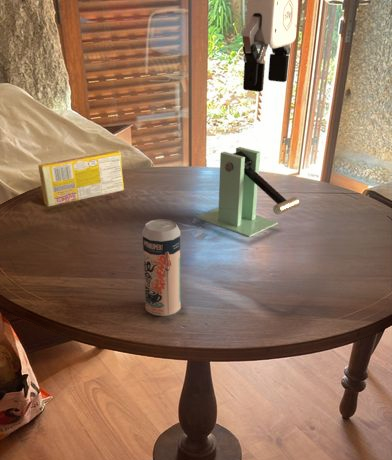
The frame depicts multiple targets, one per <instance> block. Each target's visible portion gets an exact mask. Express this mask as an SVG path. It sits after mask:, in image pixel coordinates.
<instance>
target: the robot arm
mask: <svg viewBox="0 0 392 460" xmlns="http://www.w3.org/2000/svg"><path fill="white" fill-rule="evenodd" d="M298 11H299V0H247V4H246V14H245V28H244V29H243V30H242V32H241V33H242V34H241V37H242V43H243V44H242V52H243V54H244V55H243V63H244V64H243V65H244V67H243V80H242V81H243V82H242V83H243V84H242V89H243V90H244V91H250V92H258V93H260V92H262V91H263V90H264V81H265V69H266V63H265V62H263V61H264V60H265V59H264V58H265V56H266V53H267V50H268V47H269V48H271V52H272V53H270V54H269V62H268V75H267V79H268V81H271V82H278V83H286V82H287V80H288V72H289V61H290V54H291V44H293V43H294V42H295V41H296V38H297V29H298V28H297V27H298Z"/></svg>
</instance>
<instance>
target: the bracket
mask: <svg viewBox="0 0 392 460" xmlns="http://www.w3.org/2000/svg"><path fill="white" fill-rule="evenodd" d="M239 151H242V152H243V153H244V154H245V155H246V156H247V157H248V158H249V159H250V160H252V163H251V165H250V167H251V168H252V169H253V170H254V171H255V172H256V173H257V174H259V175H260V164H261V163H260V161H261V152H260V151H258V150H254V149H250V148H246V147H242V146H238V147H236V148H235V153H236V152H239ZM219 156H220V161H219V164H220V165H219V186H218V187H219V189H218V207H217V208H215V209H213V210H210V211H207V212H204V213H202V214H199V215H197V216H196V219H199V220H201V221H204V222H207V223H210V224H212V225H215V226H218V227H220V228H223V229H226V230H229V231H231V232H234V233H237V234H240V235H243V236H245V237H248V238H250V237H253V236H255V235H257V234H259V233H261V232H263V231H265V230H267V229H268V230H269V229H270V228H272V227H274V226H276V225H278V223H279V222H277V221H274V220H272V219H268V218H265V217H262V216H259V215H257V214H256V213H257V204H258V203H257V201H258V191H259V190H258V187H259V186H257V185H256V184H255V183H254V182H253V181H252V180H251V179H250V178H249V177H248V176H247V175H245V174H244V164H245V157H243V156H239V155H235V154H233V153H230V152H228V151H222V152H220V155H219Z"/></svg>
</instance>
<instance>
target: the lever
mask: <svg viewBox="0 0 392 460" xmlns="http://www.w3.org/2000/svg"><path fill="white" fill-rule="evenodd" d="M232 154H235V155H239V156H243V157H245V164H244V174H245V175H247V176H248V177H249V178H250V179H251V180H252V181H253V182H254V183H255V184H256V185H257V186H258V187H259V189H260V190H261V191H263V192H264V193H265V194H266V195H267V196H268V197H269V198H270V199H272V200H273V201H274V202H275V203H276V204H275V205H273V208H272V211H273V213H274V214H275V215H276V216H277V215H281V214H283V213H286V212H288V211H290V210H292V209H295V208H297V207H298V206H299V204H300V201H299V199H298V197H296V196H293V197H291V198H289V199H286V198H285V197H284V196H283V194H281V193H280V192H279V191H277V190H276V189H275V188H274V187H273V186H272V185H271V184H270V183H268V181H266V180H265V179H264V178H263V177H262V176H261V175H260V173H259V174H257V173H256V172H255V171H254V170H253V169H252V168H251V167H250V165H251V163H252V160H250V159H249V158H248V157H247V156H246V155H245V154H244V153H243V152H242V151H239V152H236V151H235V152H234V153H232Z"/></svg>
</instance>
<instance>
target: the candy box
mask: <svg viewBox="0 0 392 460" xmlns="http://www.w3.org/2000/svg"><path fill="white" fill-rule="evenodd" d="M122 166H123V165H122V154H121V151H119V150H112V151H107V152H101V153H97V154H91V155H85V156H79V157H75V158H69V159H63V160H59V161H54V162H49V163H43V164H38V165H37V167H38V173H39V179H40V184H41V191H42V197H43V203H44V205H45V206H47V207H52V206H56V205H57V206H58V205H61V204H66V203H70V202H75V201H80V200H85V199H89V198H93V197H98V196H103V195H108V194H111V193H117V192H121V191H125V187H124V185H125V184H124V177H123V167H122ZM47 207H45V208H44V209H45V210H47V211H48V212H51V211H52V210H51V209H49V208H47Z"/></svg>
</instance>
